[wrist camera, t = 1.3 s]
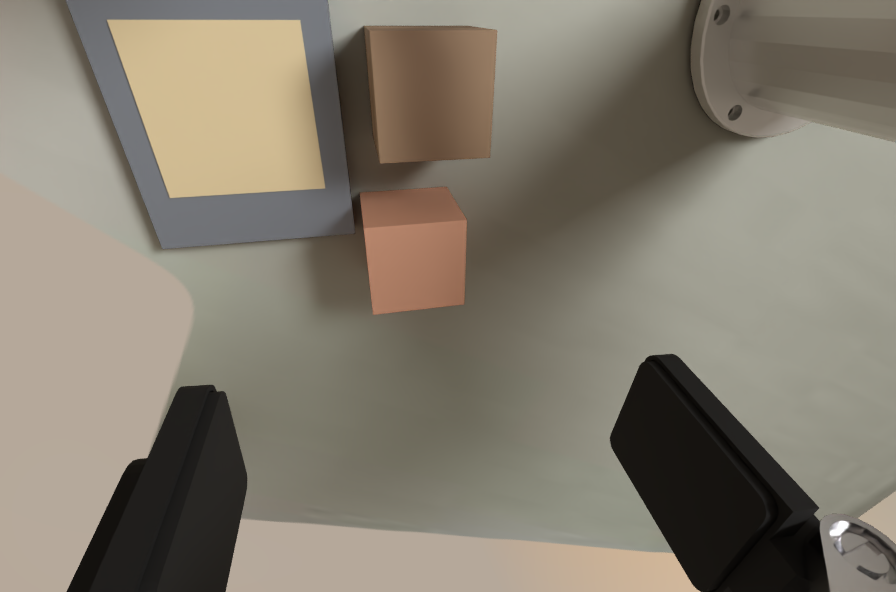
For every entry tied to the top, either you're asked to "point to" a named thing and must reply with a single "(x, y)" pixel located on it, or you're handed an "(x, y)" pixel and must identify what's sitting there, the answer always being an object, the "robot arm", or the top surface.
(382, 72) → the walnut block
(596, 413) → the top surface
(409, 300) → the terracotta block
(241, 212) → the board
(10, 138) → the top surface
